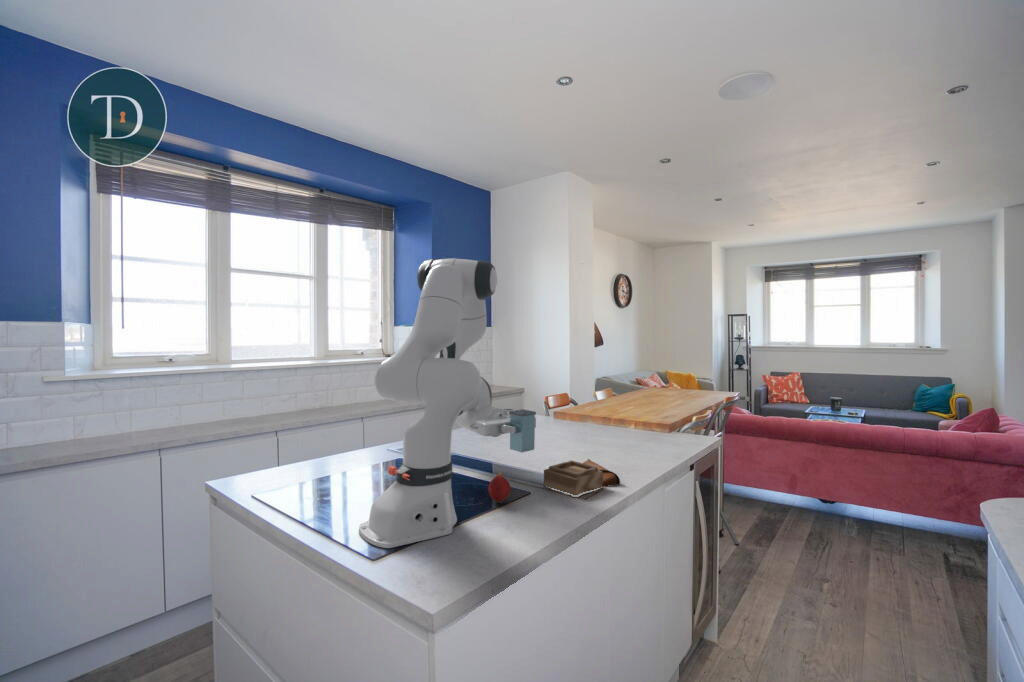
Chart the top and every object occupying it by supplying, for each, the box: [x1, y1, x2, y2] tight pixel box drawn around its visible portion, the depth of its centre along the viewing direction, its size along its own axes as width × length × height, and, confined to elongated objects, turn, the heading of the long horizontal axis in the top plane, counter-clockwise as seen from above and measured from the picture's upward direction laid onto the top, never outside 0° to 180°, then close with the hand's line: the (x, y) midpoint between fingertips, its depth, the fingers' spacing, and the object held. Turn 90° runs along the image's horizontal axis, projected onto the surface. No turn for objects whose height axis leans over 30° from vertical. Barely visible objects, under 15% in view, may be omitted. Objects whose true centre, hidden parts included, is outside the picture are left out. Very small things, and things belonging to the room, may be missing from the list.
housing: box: [509, 409, 537, 453], centre depth 137 cm, size 5×5×11 cm
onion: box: [487, 472, 512, 503], centre depth 125 cm, size 6×6×8 cm
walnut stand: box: [543, 460, 603, 495], centre depth 137 cm, size 12×12×6 cm
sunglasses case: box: [582, 458, 621, 487], centre depth 147 cm, size 18×7×7 cm
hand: (524, 429), depth 136 cm, fingers closed on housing, 5 cm apart
